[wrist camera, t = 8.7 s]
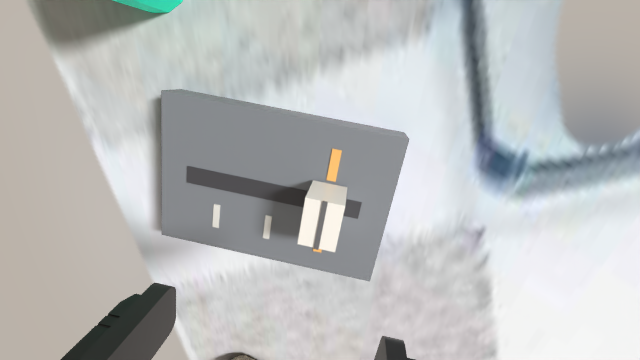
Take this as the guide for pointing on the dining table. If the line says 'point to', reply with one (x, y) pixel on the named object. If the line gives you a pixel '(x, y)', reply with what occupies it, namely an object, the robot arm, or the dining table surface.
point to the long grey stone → (242, 358)
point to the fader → (322, 216)
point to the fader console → (273, 179)
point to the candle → (152, 5)
